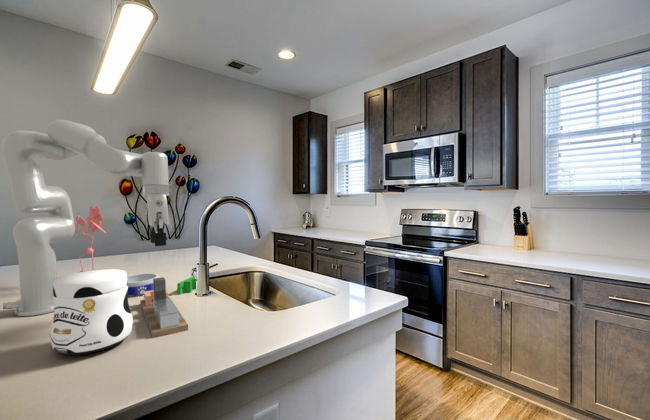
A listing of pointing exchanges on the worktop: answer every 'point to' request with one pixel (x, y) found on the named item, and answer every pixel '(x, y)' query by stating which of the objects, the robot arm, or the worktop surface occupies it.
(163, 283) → the bar
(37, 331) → the worktop surface
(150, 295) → the socket
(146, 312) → the board
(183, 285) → the pipe clamp
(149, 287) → the dog bowl
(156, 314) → the grey concrete brick
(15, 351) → the worktop surface
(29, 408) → the worktop surface
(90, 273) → the milk container
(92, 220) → the figurine
